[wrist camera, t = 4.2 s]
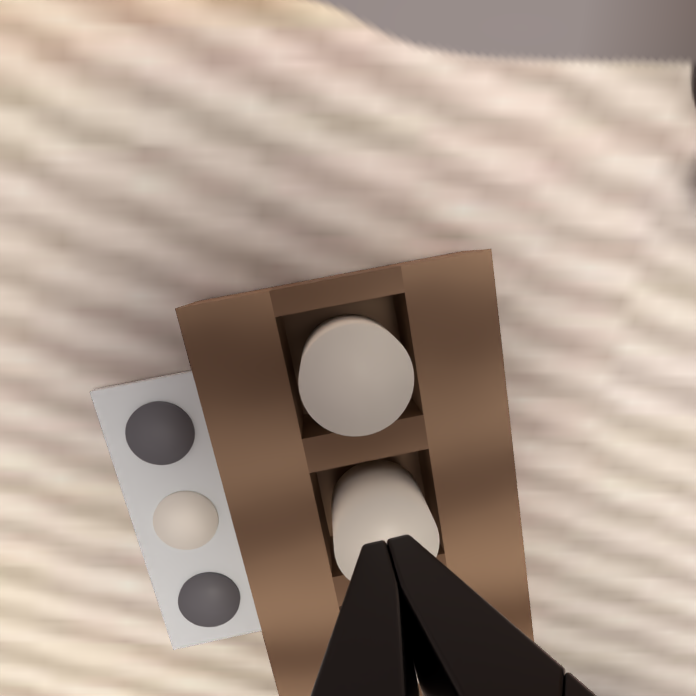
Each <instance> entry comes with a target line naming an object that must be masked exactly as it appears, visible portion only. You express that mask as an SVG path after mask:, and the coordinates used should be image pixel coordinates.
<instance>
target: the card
mask: <svg viewBox="0 0 696 696" xmlns="http://www.w3.org/2000/svg"><path fill="white" fill-rule="evenodd" d="M90 394H91V398H92V401H93V404H94V407H95V410H96V413H97V416H98V419H99V422H100V425H101V428H102V431H103V435H104V438H105V441H106V444H107V447H108V450H109V453H110V456H111V459H112V462H113V465H114V468H115V472H116V475H117V478H118V481H119V484H120V487H121V490H122V493H123V496H124V499H125V502H126V505H127V508H128V512H129V515H130V518H131V521H132V524H133V527H134V530H135V533H136V536H137V539H138V542H139V545H140V549H141V552H142V555H143V558H144V561H145V564H146V567H147V570H148V573H149V576H150V579H151V582H152V586H153V589H154V592H155V595H156V598H157V601H158V604H159V607H160V610H161V613H162V616H163V619H164V622H165V626H166V629H167V632H168V635H169V638H170V641H171V644H172V647H173V650H175V649H180V648H184V647H189V646H193V645H198V644H203V643H207V642H212V641H216V640H221V639H226V638H230V637H235V636H239V635H244V634H249V633H253V632H258V631H262V630H261V626H260V623H259V619H258V615H257V612H256V608H255V604H254V600H253V597H252V593H251V589H250V585H249V582H248V578H247V574H246V571H245V567H244V563H243V559H242V556H241V552H240V548H239V545H238V541H237V537H236V533H235V530H234V526H233V522H232V519H231V515H230V511H229V507H228V504H227V500H226V496H225V492H224V489H223V485H222V481H221V478H220V474H219V470H218V466H217V463H216V459H215V455H214V452H213V448H212V444H211V440H210V437H209V433H208V429H207V425H206V422H205V418H204V414H203V411H202V407H201V403H200V399H199V396H198V392H197V388H196V385H195V381H194V377H193V373H192V370H190V371H185V372H180V373H175V374H170V375H165V376H160V377H154V378H149V379H144V380H139V381H134V382H129V383H123V384H118V385H113V386H108V387H103V388H98V389H94V390H92V391H90Z"/></svg>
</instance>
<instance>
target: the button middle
mask: <svg viewBox="0 0 696 696" xmlns="http://www.w3.org/2000/svg"><path fill="white" fill-rule="evenodd" d="M331 511H332V527H333V543H334V554H335V559H336V562H337V564H338V567H339V569H340V570H341V572H342V573H343V574H344V575H345V577H346V578H347V579H349V580H351V577H352V574H353V571H354V568H355V565H356V563H357V560H358V557H359V554H360V551H361V548H362V546H363V545H364V544H367V543H371V542H375V541H380V540H384V541H385V542H386V543H387V540H388V539H389V538H393V537H397V536H401V535H407V534H408V535H410V536H412V537H413V538H414V539H415V540H416V541H417V542H419V543H420V544H421V545H422V546H423V547H424V548H426V549H427V550H428V551H429V552H430V553H431V554H432V555H434V556H435V557H437V554H438V550H439V541H440V540H439V532H438V528H437V526H436V523H435V521H434V519H433V517H432V514H431V512H430V510H429V508H428V506H427V504H426V501H425V499H424V497H423V495H422V493H421V490H420V488H419V486H418V484H417V482H416V480H415V478H414V477H413V476H412V474H411V473H410V472H409V471H408V470H407V469H405V468H404V467H402V466H401V465H399V464H397V463H394V462H391V461H387V460H371V461H366V462H362V463H360V464H357V465H355V466H354V467H352V468H350V469H349V470H348V471H346V472H345V473H344V474H343V475H342V476H341V478H340V479H339V480H338V482H337V483H336V485H335V487H334V490H333V493H332V498H331Z"/></svg>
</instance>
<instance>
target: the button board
mask: <svg viewBox="0 0 696 696" xmlns="http://www.w3.org/2000/svg"><path fill="white" fill-rule="evenodd" d="M175 310H176V314H177V318H178V321H179V325H180V329H181V332H182V336H183V340H184V344H185V347H186V351H187V355H188V359H189V362H190V366H191V370H192V373H193V377H194V381H195V385H196V388H197V392H198V396H199V399H200V403H201V407H202V411H203V414H204V418H205V422H206V425H207V429H208V433H209V437H210V440H211V444H212V448H213V452H214V455H215V459H216V463H217V466H218V470H219V474H220V478H221V481H222V485H223V489H224V492H225V496H226V500H227V504H228V507H229V511H230V515H231V519H232V522H233V526H234V530H235V533H236V537H237V541H238V545H239V548H240V552H241V556H242V559H243V563H244V567H245V571H246V574H247V578H248V582H249V585H250V589H251V593H252V597H253V600H254V604H255V608H256V612H257V615H258V619H259V623H260V626H261V630H262V634H263V638H264V641H265V645H266V649H267V652H268V656H269V660H270V664H271V667H272V671H273V675H274V678H275V682H276V686H277V690H278V693H279V696H310V695H311V692H312V689H313V687H314V684H315V681H316V678H317V675H318V672H319V669H320V666H321V663H322V661H323V658H324V655H325V652H326V649H327V646H328V643H329V640H330V638H331V635H332V632H333V629H334V626H335V623H336V620H337V617H338V614H339V612H340V609H341V606H342V603H343V600H344V597H345V594H346V591H347V588H348V586H349V583H350V580H349V579H347V578H346V577H345V575H344V574H343V573H342V572H341V570H340V569H339V567H338V564H337V562H336V559H335V554H334V543H333V527H332V511H331V498H332V493H333V490H334V487H335V485H336V483H337V482H338V480H339V479H340V478H341V476H342V475H343V474H344V473H345V472H346V471H348V470H349V469H350V468H352V467H354V466H355V465H357V464H360V463H362V462H366V461H371V460H387V461H391V462H394V463H397V464H399V465H401V466H402V467H404V468H405V469H407V470H408V471H409V472H410V473H411V474H412V476H413V477H414V478H415V480H416V482H417V484H418V486H419V488H420V490H421V493H422V495H423V497H424V499H425V501H426V504H427V506H428V508H429V510H430V512H431V514H432V517H433V519H434V521H435V523H436V526H437V528H438V532H439V540H440V541H439V550H438V554H437V557H436V558H437V559H438V560H439V561H441V562H442V563H443V564H444V565H445V566H446V567H448V568H449V569H450V570H451V571H452V572H453V573H455V574H456V575H457V576H458V577H459V578H460V579H461V580H463V581H464V582H465V583H466V584H467V585H468V586H470V587H471V588H472V589H473V590H474V591H475V592H477V593H478V594H479V595H480V596H481V597H482V598H484V599H485V600H486V601H487V602H488V603H489V604H491V605H492V606H493V607H494V608H495V609H496V610H497V611H499V612H500V613H501V614H502V615H503V616H504V617H506V618H507V619H508V620H509V621H510V622H511V623H513V624H514V625H515V626H516V627H517V628H518V629H520V630H521V631H522V632H523V633H524V634H525V635H526V636H528V637H529V638H530V639H531V640H532V641H533V642H534V638H533V628H532V619H531V610H530V601H529V592H528V583H527V573H526V564H525V555H524V546H523V537H522V527H521V518H520V509H519V500H518V491H517V481H516V472H515V463H514V454H513V445H512V435H511V426H510V417H509V408H508V399H507V390H506V380H505V371H504V362H503V353H502V344H501V334H500V325H499V316H498V307H497V298H496V288H495V279H494V270H493V261H492V252H491V249H485V250H472V251H461V252H456V253H451V254H445V255H440V256H435V257H430V258H424V259H419V260H414V261H408V262H403V263H398V264H392V265H387V266H382V267H376V268H371V269H366V270H360V271H355V272H350V273H344V274H339V275H334V276H328V277H323V278H318V279H313V280H307V281H302V282H297V283H291V284H286V285H281V286H275V287H270V288H265V289H259V290H254V291H249V292H243V293H238V294H233V295H227V296H222V297H217V298H212V299H206V300H201V301H197V302H194V303H191V304H188V305H185V306H181V307H178V308H175ZM341 314H359V315H363V316H367V317H369V318H372V319H373V320H375V321H377V322H378V323H380V324H381V325H382V326H383V327H384V328H385V329H386V330H388V331H389V332H390V333H391V334H392V335H393V336H394V337H395V338H396V339H397V340H398V341H399V342H400V343H401V344H402V345H403V347H404V348H405V350H406V351H407V353H408V355H409V357H410V360H411V362H412V366H413V370H414V387H413V392H412V396H411V399H410V401H409V403H408V405H407V407H406V409H405V410H404V412H403V413H402V414H401V415H400V417H399V418H398V419H397V420H396V421H395V422H393V423H392V424H391V425H389V426H388V427H386V428H385V429H383V430H381V431H379V432H376V433H374V434H370V435H365V436H344V435H340V434H336V433H334V432H331V431H329V430H327V429H325V428H324V427H322V426H321V425H319V424H318V423H317V422H316V421H315V420H314V419H313V418H312V417H311V416H310V414H309V413H308V412H307V410H306V408H305V407H304V405H303V402H302V400H301V397H300V393H299V386H298V378H299V370H300V364H301V357H302V351H303V348H304V345H305V343H306V340H307V339H308V337H309V335H310V334H311V333H312V331H313V330H314V329H315V328H316V327H317V326H318V325H320V324H321V323H322V322H324V321H325V320H327V319H329V318H332V317H334V316H337V315H341ZM418 686H419V692H420V696H423V695H422V692H421V689H420V685H419V684H418Z"/></svg>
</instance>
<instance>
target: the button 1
mask: <svg viewBox="0 0 696 696" xmlns="http://www.w3.org/2000/svg"><path fill="white" fill-rule="evenodd" d="M298 386H299V393H300V397H301V400H302V402H303V405H304V407H305V408H306V410H307V412H308V413H309V414H310V416H311V417H312V418H313V419H314V420H315V421H316V422H317V423H318V424H319V425H321V426H322V427H324V428H325V429H327V430H329V431H331V432H334V433H336V434H340V435H344V436H365V435H370V434H374V433H376V432H379V431H381V430H383V429H385V428H386V427H388V426H389V425H391V424H392V423H393V422H395V421H396V420H397V419H398V418H399V417H400V415H401V414H402V413H403V412H404V410H405V409H406V407H407V405H408V403H409V401H410V399H411V396H412V392H413V387H414V370H413V366H412V362H411V360H410V357H409V355H408V353H407V351H406V350H405V348H404V347H403V345H402V344H401V343H400V342H399V341H398V340H397V339H396V338H395V337H394V336H393V335H392V334H391V333H390V332H389V331H388V330H386V329H385V328H384V327H383V326H382V325H381V324H380V323H378V322H377V321H375V320H373V319H372V318H369V317H367V316H363V315H359V314H341V315H337V316H334V317H332V318H329V319H327V320H325V321H324V322H322V323H321V324H320V325H318V326H317V327H316V328H315V329H314V330H313V331H312V333H311V334H310V335H309V337H308V339H307V340H306V343H305V345H304V348H303V351H302V357H301V364H300V370H299V378H298Z"/></svg>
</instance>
